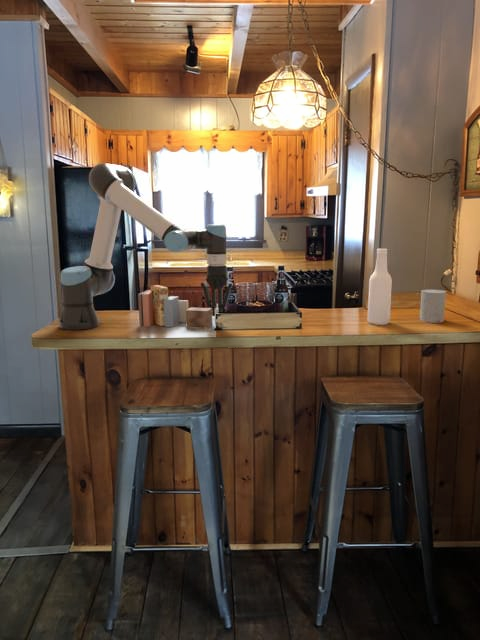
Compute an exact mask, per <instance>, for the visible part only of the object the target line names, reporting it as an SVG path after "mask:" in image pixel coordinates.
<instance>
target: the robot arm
mask: <svg viewBox="0 0 480 640" xmlns="http://www.w3.org/2000/svg"><path fill="white" fill-rule="evenodd" d="M88 182H89V186H90V187H91V189H92V190H93V191H94V193H96V194H97V197H98V198H99V201H100V203H99V209H98V214H97V219H96V222H95V223H96V224H95V227H94V233H93V237H92V238H93V239H92V243H91V248H90V253H89V257H88V258H86V259H85V260H84V264H83V265H76V266H75V265H74V266H70V267H66V268H64V269H62V270H61V271H60V280H59V282H60V288H61V291H60V292H61V299H62V300H61V302H62V311H61V314H60V319H59V322H58V323H59V324H58V325H59V328H60V329H62V330H68V331H79V330H88V329H93V328H96V327H99V326H100V322H99V321H100V319H99V317H98V315H97V312H96V310H95V309H96V308H94V307H95V306H94V299H93V298H94V297H96V296H98V295H99V296H100V295H105V294H106V293H107V292H109V291H111V290H112V288H113V287H114V286H115V282H116V281H115V280H116V276H115V274H114V271H113V269H114V266H113V264H112V263H111V261H112V256H113V252H114V246H115V242H116V237H117V233H118V230H119V228H118V227H119V225H120V220H121V213H122V211H124V212H125V213H126V214H127V215H129V216H130V217H131V218H133V219H134V220H135V221H136V222H138V224H140V225H142V226H143V227H144V228H145V229H146V230H148V231H149V232H150V233H152V234H153V235H154V236H156V237H157V238H158V239H159V240H161V241H162V242H163V243H164V245H165V246H164V247H165V248H166V249H167V250H168V251H170V252H172V253H182V252H184V251H190V250H206V264H207V266H206V271H207V272H206V278H205V280H204V281H202V282H201V283H200V286H201V288H202V289H203V294H204V297H205V302H206V306H207V308H212V317H214V326H217V325H216V314H217V312H222V313H223V308H226V307H227V306H228V303H229V298H230V295H231V294H230V293H231V290H232V288H233V286H234V282H231V281H230V280H229V279H228V275H227V274H228V273H227V271H228V270H227V265H226V264H227V239H228V238H227V227H226V226H225V224H219V223H218V224H207V225H206V228H204V229H190V228H186V229H185V228H184V229H181V228H180V227H179V226H178V225H176V224H175V223H173V222H172V220H171V219H170V220H169V218H167V217H165V216H164V215H163V214H162V213H161V212H159V211H158V210H157V209H155V208H154V207H153V206H152V205H150V204H149V203H147V201H145V200H144V199H142V198H141V197H140V196H139V195H137V194H136V193H135V192H134V191H135V189H136V185H137V182H136V177H135V175H134V173H133V172H132V171H131V169H130V168H127V167H126V166H123V165H120V164H111V163H106V162H105V163H104V162H101V163H98V164H96V165H94V166H93V167H92V168H91V170H90V172H89V175H88ZM208 286H209V287H210V290H211V295H210V290H209V288H208ZM224 287H227V288H226V289H225V295H224V299H223V290H224V289H223V288H224ZM217 293H218V294H217ZM217 305H218V306H217Z"/></svg>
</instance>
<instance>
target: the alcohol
mask: <svg viewBox="0 0 480 640" xmlns="http://www.w3.org/2000/svg"><path fill="white" fill-rule="evenodd" d="M375 261H376V262H375V268H374V271H373V273H372V274H371V275H370V277H369V280H368V301H367V302H368V303H367V319H366V320H367V322H368V324H371V325H377V326H379V325H380V326H384V325H385V326H386V325H389V323H390V321H391V307H392V306H391V304H392V303H391V302H392V288H393V287H392V286H393V281H392V280H393V279H392V276H391V275H390V272H388V248H383V247H381V248H377V249H376V260H375Z"/></svg>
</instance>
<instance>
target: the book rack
mask: <svg viewBox="0 0 480 640" xmlns="http://www.w3.org/2000/svg"><path fill="white" fill-rule="evenodd" d="M148 291H151V290H150V289H147V290H145V291H142V292H141V293H137V298H138V300H137V301H138V302H137V303H138V320H139V324H138V325H139V327H144V323H143V301H142V294H143V293H146V292H148ZM187 309H189V300H188V299H187V300H185V299H184V300H183V299H181V300H180V299H179V323H186V310H187Z"/></svg>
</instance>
